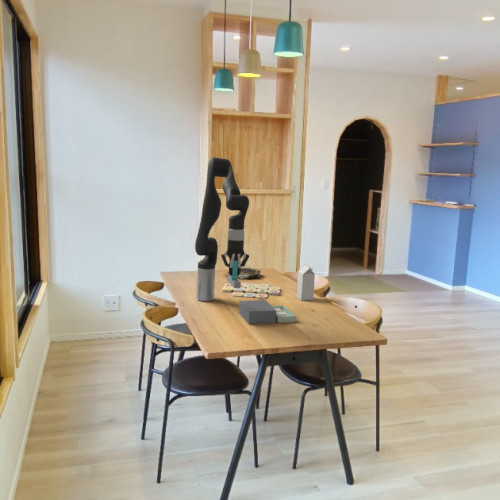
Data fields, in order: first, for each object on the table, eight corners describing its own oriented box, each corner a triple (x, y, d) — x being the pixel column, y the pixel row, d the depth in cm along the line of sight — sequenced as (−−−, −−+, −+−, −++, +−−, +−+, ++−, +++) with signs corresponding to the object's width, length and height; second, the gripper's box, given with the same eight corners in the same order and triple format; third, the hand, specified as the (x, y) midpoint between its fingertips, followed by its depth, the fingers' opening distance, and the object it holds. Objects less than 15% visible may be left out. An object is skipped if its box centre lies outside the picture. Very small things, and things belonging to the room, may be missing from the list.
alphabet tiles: (280, 286, 301) (281, 282, 301) (278, 300, 269) (279, 296, 269) (227, 283, 304) (227, 279, 304) (218, 296, 272) (218, 292, 272)
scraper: (234, 288, 223) (235, 263, 221) (226, 280, 236) (228, 257, 234) (240, 288, 224) (241, 263, 222) (233, 280, 237) (234, 257, 235)
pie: (273, 278, 324) (274, 270, 323) (244, 284, 305) (244, 276, 304) (244, 270, 344) (244, 263, 343) (214, 275, 324) (214, 268, 324)
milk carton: (301, 300, 269) (303, 266, 266) (296, 297, 276) (298, 264, 273) (313, 300, 271) (315, 266, 268) (308, 297, 278) (310, 264, 274)
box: (277, 322, 228) (278, 316, 228) (266, 311, 246) (266, 305, 245) (295, 322, 231) (296, 316, 230) (283, 311, 248) (283, 305, 248)
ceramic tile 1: (286, 314, 233) (286, 318, 234) (284, 311, 237) (283, 315, 237) (278, 314, 232) (278, 318, 233) (276, 312, 236) (276, 316, 236)
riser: (248, 324, 225) (249, 311, 224) (239, 312, 242) (239, 300, 241) (275, 323, 228) (276, 310, 227) (264, 311, 245) (264, 300, 244)
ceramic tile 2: (281, 310, 239) (281, 314, 239) (279, 308, 243) (279, 312, 243) (274, 310, 238) (273, 314, 238) (271, 308, 242) (271, 312, 242)
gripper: (248, 237, 231) (246, 273, 234) (219, 237, 227) (217, 273, 230) (252, 239, 224) (250, 277, 227) (222, 239, 220) (221, 277, 223)
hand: (234, 275), depth 228 cm, fingers closed on scraper, 2 cm apart
